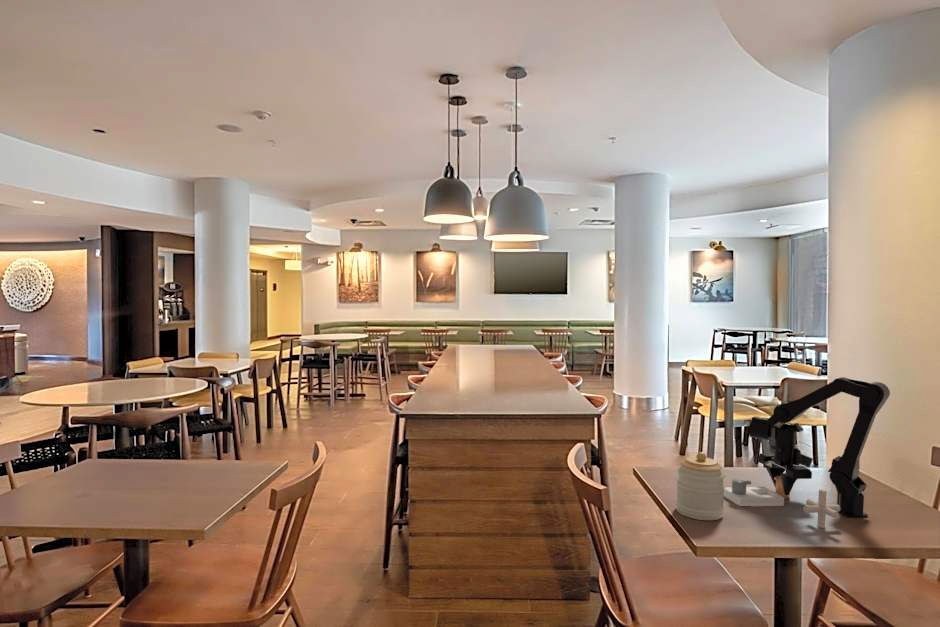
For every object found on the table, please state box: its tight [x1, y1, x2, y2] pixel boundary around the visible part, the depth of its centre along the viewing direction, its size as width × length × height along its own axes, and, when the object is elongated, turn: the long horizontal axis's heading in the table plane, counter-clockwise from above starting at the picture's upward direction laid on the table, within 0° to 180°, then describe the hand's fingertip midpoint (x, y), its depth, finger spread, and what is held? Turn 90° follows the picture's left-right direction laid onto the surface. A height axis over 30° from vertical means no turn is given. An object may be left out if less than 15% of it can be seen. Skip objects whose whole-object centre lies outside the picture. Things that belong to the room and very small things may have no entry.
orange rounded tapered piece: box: [774, 476, 791, 500], centre depth 189 cm, size 4×5×6 cm
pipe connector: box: [802, 489, 840, 529], centre depth 165 cm, size 10×10×10 cm
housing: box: [724, 478, 785, 507], centre depth 185 cm, size 10×14×6 cm
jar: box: [675, 451, 726, 521], centre depth 173 cm, size 13×13×18 cm
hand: (782, 492), depth 189 cm, fingers closed on orange rounded tapered piece, 4 cm apart
